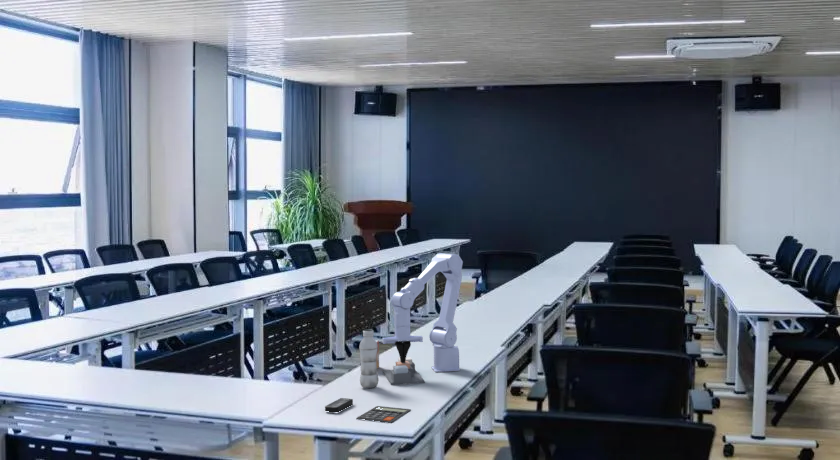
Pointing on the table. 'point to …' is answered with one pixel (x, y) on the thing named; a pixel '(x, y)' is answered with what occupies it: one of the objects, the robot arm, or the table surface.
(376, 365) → the small box
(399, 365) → the terracotta key
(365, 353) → the plastic bottle
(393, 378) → the panel
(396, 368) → the slate key
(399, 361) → the ivory key
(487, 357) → the table surface
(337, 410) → the multiport hub
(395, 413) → the calculator
